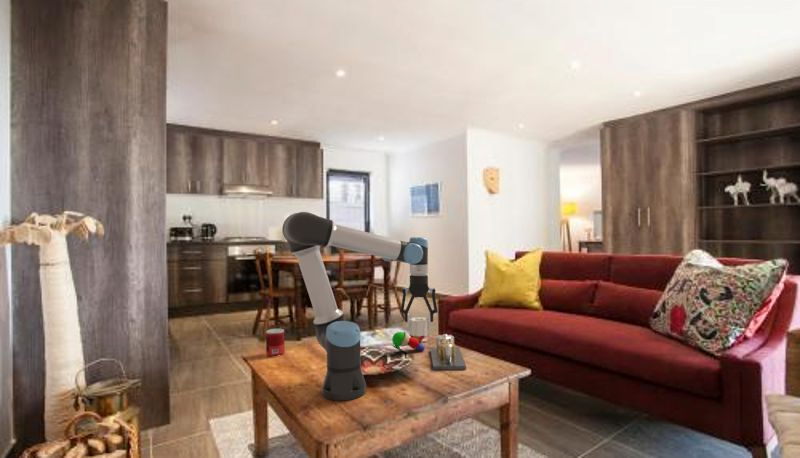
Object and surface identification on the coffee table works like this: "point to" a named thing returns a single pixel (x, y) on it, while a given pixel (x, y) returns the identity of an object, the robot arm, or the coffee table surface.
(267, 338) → the canned food
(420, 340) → the apple
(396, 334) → the toy
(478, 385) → the coffee table surface
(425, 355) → the coffee table surface
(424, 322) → the planet gear
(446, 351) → the carrier
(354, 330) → the robot arm
